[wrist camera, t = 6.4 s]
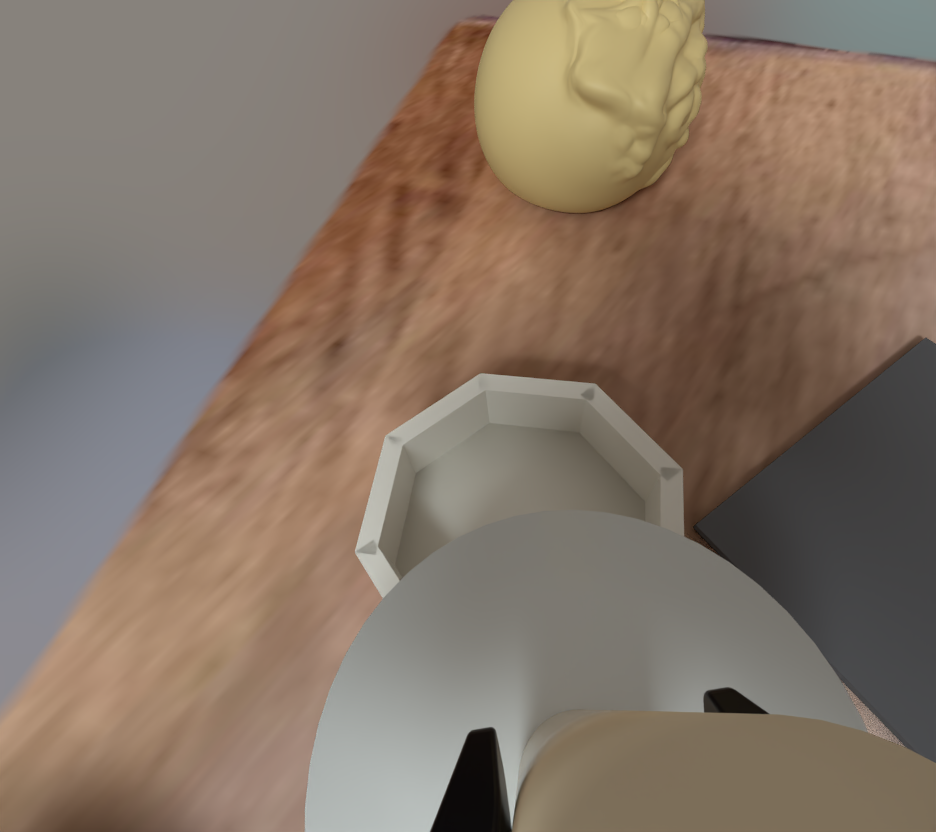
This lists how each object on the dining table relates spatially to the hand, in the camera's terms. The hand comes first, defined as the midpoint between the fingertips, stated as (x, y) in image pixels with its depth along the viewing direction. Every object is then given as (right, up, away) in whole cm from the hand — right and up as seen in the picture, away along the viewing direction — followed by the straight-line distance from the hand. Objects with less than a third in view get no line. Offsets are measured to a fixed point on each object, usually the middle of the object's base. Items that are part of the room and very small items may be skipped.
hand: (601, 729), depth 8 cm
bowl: (0, 0, +15) cm, 15 cm away
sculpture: (+5, +20, +26) cm, 33 cm away
